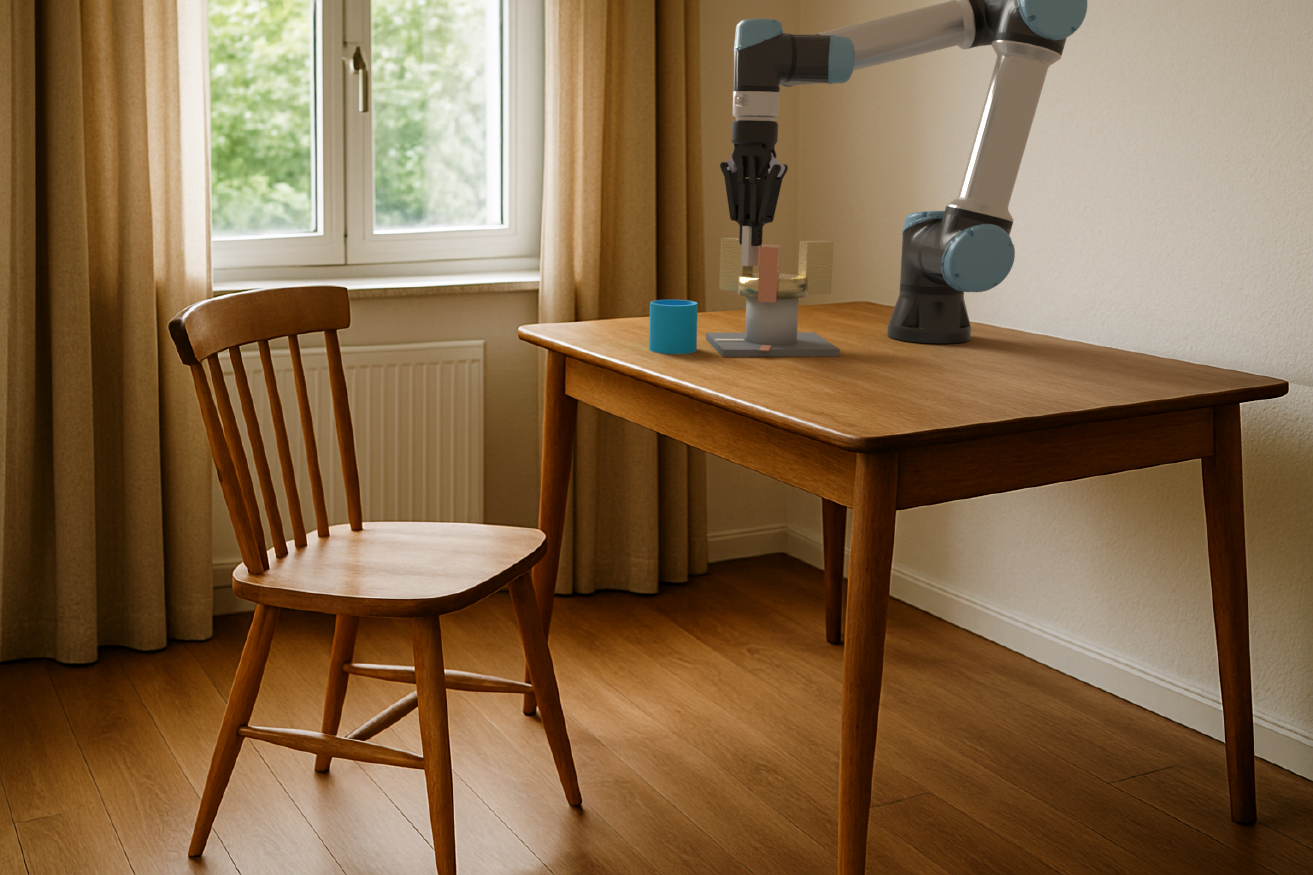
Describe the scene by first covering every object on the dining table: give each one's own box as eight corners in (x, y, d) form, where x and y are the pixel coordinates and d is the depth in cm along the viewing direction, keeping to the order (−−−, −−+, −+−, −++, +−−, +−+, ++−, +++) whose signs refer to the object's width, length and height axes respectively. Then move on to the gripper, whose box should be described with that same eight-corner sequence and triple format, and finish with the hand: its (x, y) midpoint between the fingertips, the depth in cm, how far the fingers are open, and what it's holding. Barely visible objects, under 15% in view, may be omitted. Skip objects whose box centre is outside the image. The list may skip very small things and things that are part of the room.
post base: (814, 338, 229) (816, 289, 227) (842, 358, 210) (845, 304, 208) (706, 339, 226) (707, 289, 224) (724, 358, 207) (726, 304, 205)
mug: (704, 352, 213) (705, 305, 211) (660, 355, 210) (660, 306, 208) (676, 341, 224) (677, 296, 222) (634, 343, 221) (634, 297, 219)
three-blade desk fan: (721, 287, 225) (722, 237, 222) (831, 292, 221) (834, 240, 219) (707, 299, 208) (709, 245, 206) (826, 304, 205) (829, 249, 203)
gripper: (710, 118, 205) (705, 263, 210) (770, 119, 196) (764, 270, 201) (740, 119, 210) (735, 260, 215) (801, 120, 201) (794, 267, 206)
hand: (749, 265), depth 208 cm, fingers closed
